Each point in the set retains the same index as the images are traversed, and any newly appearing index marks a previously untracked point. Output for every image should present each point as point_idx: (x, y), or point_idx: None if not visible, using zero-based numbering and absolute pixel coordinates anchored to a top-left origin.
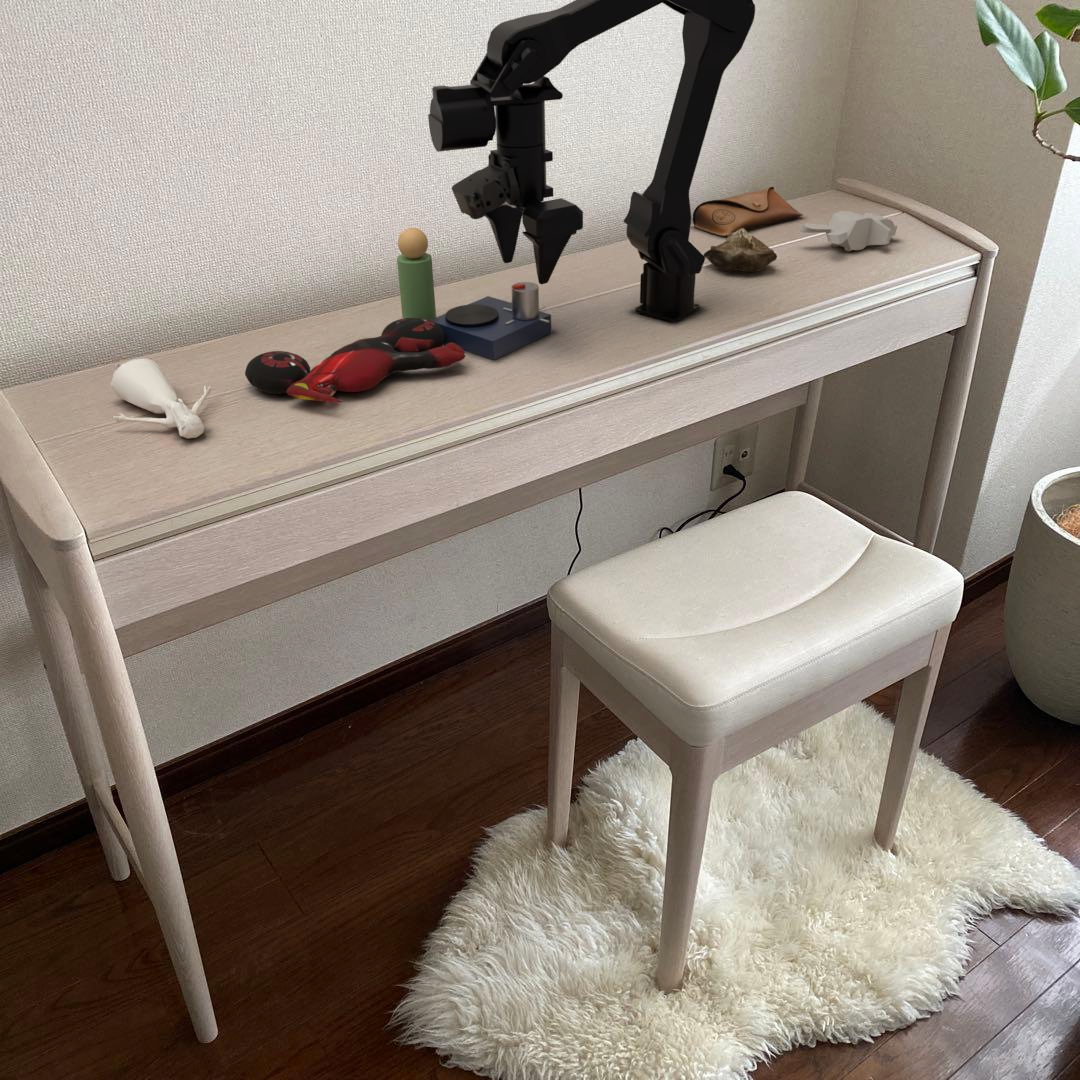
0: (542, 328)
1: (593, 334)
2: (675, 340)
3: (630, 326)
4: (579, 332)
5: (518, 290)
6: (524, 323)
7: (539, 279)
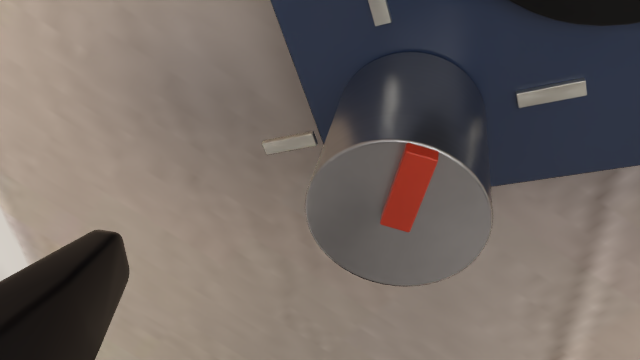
0: None
1: (261, 247)
2: (113, 349)
3: (259, 345)
4: (303, 228)
5: (354, 150)
6: (319, 52)
7: (74, 245)
